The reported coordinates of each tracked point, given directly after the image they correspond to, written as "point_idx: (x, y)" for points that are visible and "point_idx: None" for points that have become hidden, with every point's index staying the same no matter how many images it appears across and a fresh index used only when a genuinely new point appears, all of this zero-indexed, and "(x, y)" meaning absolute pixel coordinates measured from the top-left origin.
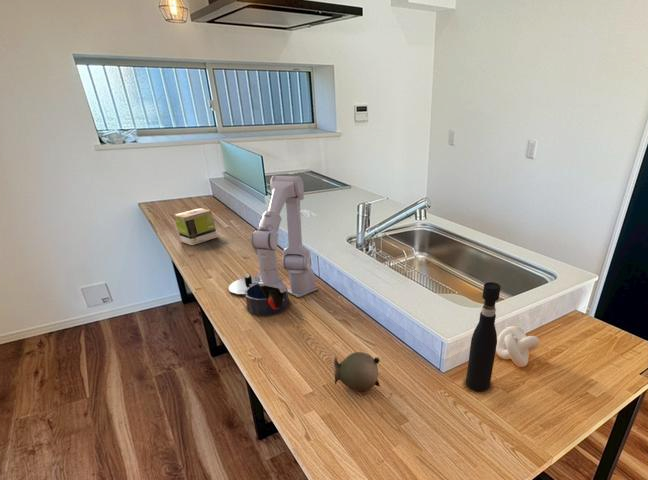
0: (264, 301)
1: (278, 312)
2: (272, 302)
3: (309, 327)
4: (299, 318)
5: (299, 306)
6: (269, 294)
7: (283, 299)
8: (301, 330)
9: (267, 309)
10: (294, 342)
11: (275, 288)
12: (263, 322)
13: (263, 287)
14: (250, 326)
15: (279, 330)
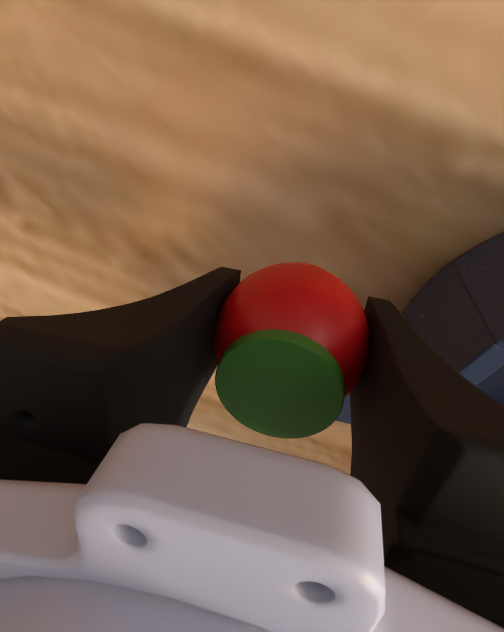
0: (501, 325)
1: None
2: (244, 285)
3: (102, 287)
4: None
5: (332, 426)
6: (327, 374)
7: (343, 418)
8: (104, 239)
9: (460, 287)
10: (7, 103)
11: (12, 468)
12: (409, 161)
13: (416, 453)
14: (482, 23)
15: (205, 152)
